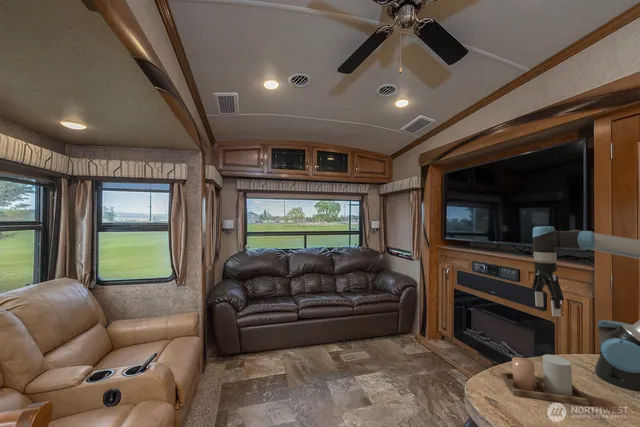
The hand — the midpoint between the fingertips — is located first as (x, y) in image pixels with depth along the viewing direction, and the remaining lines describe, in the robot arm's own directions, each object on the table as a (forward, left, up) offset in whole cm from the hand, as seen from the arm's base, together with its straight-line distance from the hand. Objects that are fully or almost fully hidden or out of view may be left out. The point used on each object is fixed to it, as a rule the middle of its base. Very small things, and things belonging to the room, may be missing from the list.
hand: (547, 311), depth 116 cm
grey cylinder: (+5, +15, -26) cm, 31 cm away
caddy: (+10, +15, -27) cm, 32 cm away
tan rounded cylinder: (+16, +15, -26) cm, 34 cm away
